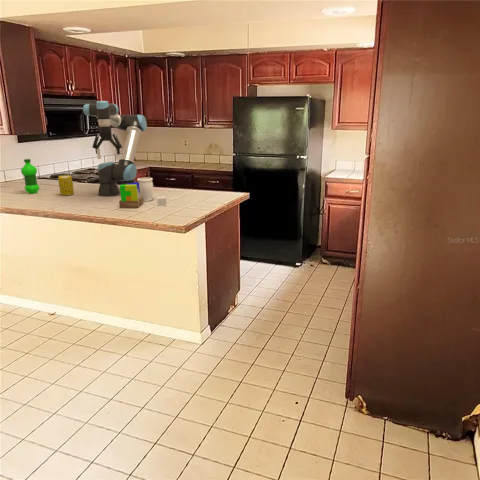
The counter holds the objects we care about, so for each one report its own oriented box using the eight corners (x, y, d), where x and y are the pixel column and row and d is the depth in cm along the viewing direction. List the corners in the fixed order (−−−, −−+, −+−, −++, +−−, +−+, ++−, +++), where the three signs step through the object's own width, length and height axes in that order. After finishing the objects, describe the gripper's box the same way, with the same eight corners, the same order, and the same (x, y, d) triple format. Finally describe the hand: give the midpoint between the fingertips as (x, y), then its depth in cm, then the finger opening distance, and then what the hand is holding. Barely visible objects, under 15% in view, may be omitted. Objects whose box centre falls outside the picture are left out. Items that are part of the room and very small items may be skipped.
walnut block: (126, 204, 283) (125, 196, 282) (143, 204, 282) (142, 197, 281) (119, 208, 272) (119, 201, 270) (138, 208, 271) (137, 201, 269)
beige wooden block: (158, 204, 281) (158, 196, 279) (166, 204, 281) (165, 196, 279) (157, 206, 276) (157, 198, 274) (165, 205, 276) (164, 198, 275)
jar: (138, 199, 295) (136, 177, 290) (152, 197, 298) (151, 176, 294) (140, 202, 286) (138, 180, 281) (155, 201, 289) (153, 179, 284)
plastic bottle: (36, 194, 313) (30, 160, 305) (22, 194, 313) (16, 160, 305) (42, 191, 322) (37, 158, 314) (29, 191, 323) (23, 158, 315)
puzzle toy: (140, 197, 280) (138, 182, 276) (137, 201, 270) (135, 185, 267) (125, 197, 280) (123, 182, 276) (121, 201, 270) (119, 185, 267)
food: (73, 194, 317) (73, 198, 308) (56, 192, 312) (56, 196, 304) (75, 175, 313) (76, 177, 304) (58, 172, 308) (58, 175, 299)
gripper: (84, 126, 272) (88, 159, 279) (119, 126, 267) (123, 160, 274) (90, 125, 279) (94, 157, 286) (125, 125, 274) (128, 158, 281)
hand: (108, 159), depth 280 cm, fingers open, 13 cm apart
